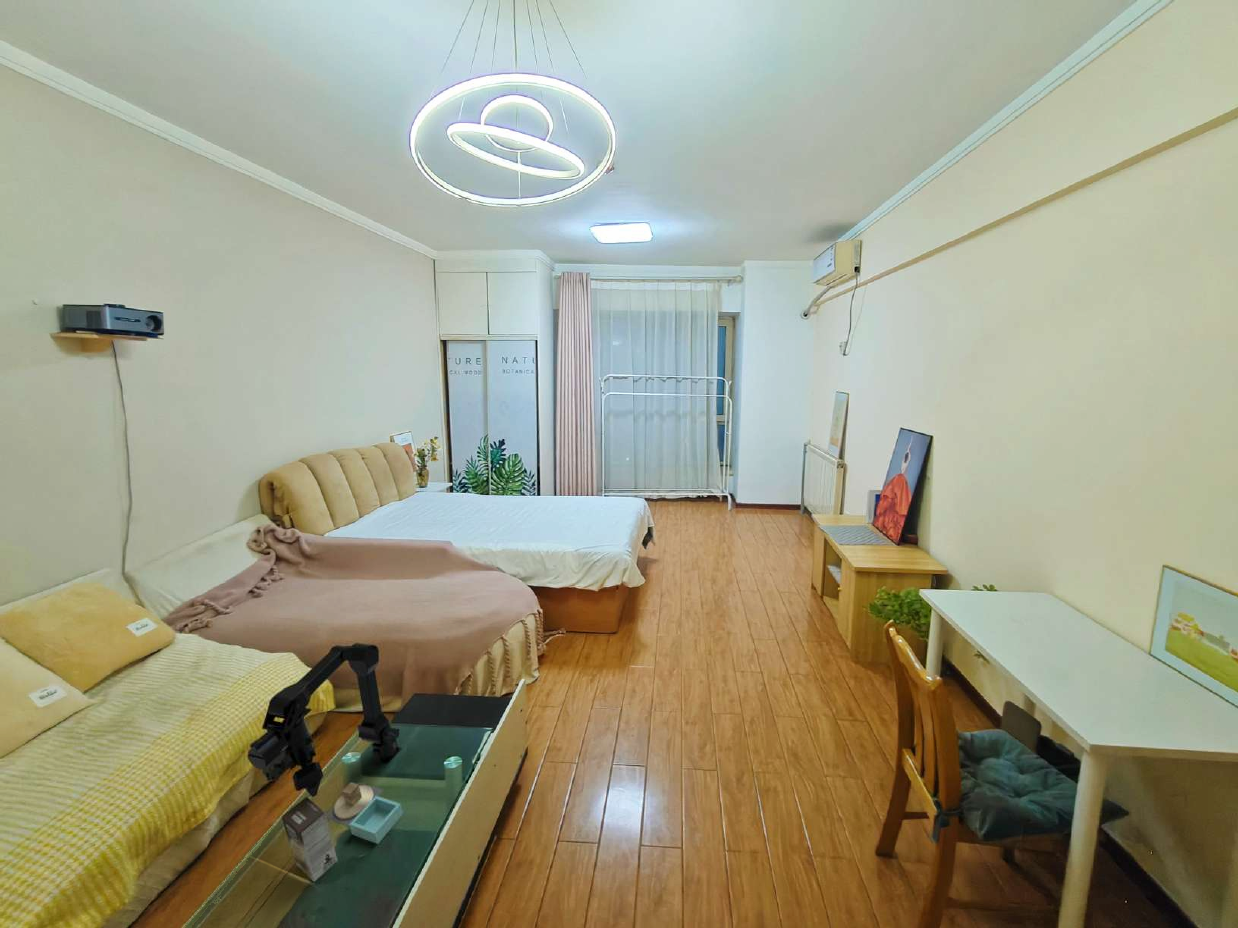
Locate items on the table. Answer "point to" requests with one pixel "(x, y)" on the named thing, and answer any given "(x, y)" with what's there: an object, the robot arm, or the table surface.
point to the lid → (353, 801)
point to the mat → (346, 822)
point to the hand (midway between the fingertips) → (311, 784)
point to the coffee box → (309, 838)
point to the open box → (376, 819)
